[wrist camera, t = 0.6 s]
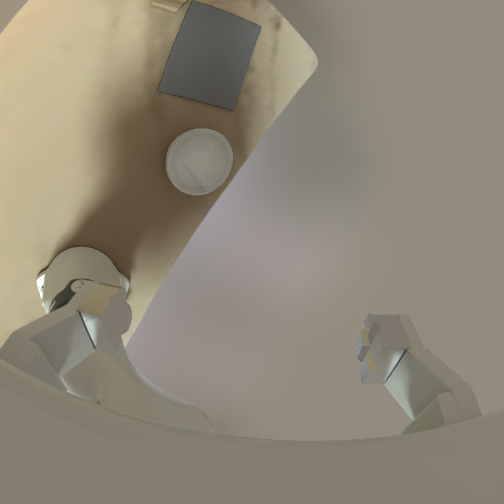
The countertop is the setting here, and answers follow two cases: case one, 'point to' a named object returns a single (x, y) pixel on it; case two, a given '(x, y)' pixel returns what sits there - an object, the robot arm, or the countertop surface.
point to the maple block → (168, 5)
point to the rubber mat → (209, 56)
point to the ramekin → (199, 161)
